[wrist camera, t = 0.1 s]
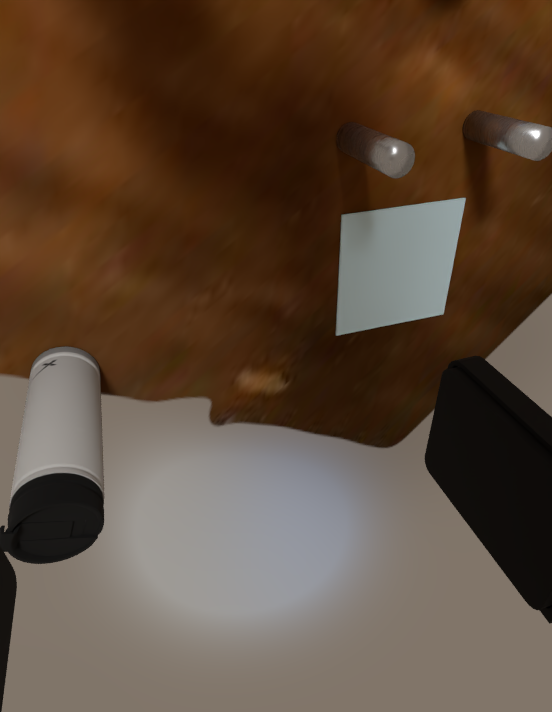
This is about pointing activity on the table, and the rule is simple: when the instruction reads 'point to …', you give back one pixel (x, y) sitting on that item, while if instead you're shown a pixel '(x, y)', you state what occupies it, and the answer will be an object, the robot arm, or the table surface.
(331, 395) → the table surface
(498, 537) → the robot arm
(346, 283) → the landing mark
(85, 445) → the travel mug
